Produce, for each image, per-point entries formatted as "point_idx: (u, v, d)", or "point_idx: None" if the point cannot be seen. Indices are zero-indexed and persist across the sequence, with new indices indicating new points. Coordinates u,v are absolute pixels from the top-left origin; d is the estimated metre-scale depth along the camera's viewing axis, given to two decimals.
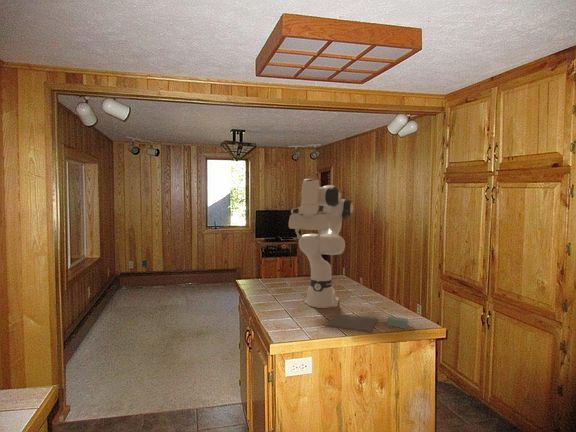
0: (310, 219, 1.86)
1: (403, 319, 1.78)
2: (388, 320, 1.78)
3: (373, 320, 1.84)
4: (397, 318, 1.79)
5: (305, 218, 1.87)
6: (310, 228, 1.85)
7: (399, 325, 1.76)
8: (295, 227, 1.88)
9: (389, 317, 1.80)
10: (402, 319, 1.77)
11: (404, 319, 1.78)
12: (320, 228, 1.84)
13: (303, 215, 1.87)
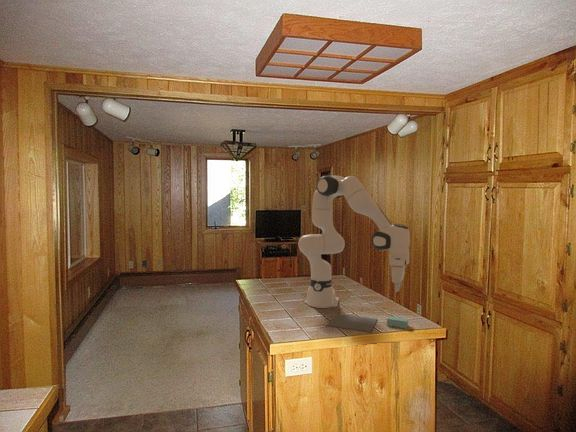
0: None
1: (403, 319, 1.77)
2: (388, 320, 1.78)
3: (373, 320, 1.84)
4: (397, 318, 1.79)
5: None
6: None
7: (399, 325, 1.76)
8: (401, 280, 1.71)
9: (389, 317, 1.80)
10: (402, 319, 1.77)
11: (404, 319, 1.77)
12: None
13: None
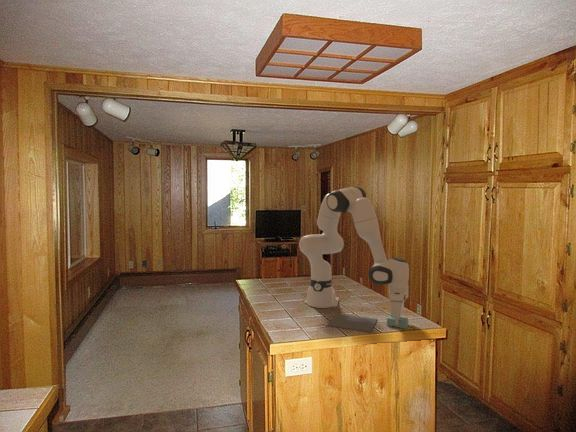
0: None
1: (403, 318, 1.77)
2: (388, 319, 1.78)
3: (373, 320, 1.84)
4: None
5: None
6: None
7: (399, 324, 1.76)
8: (400, 315, 1.72)
9: (389, 316, 1.80)
10: (402, 318, 1.77)
11: (404, 319, 1.77)
12: None
13: None
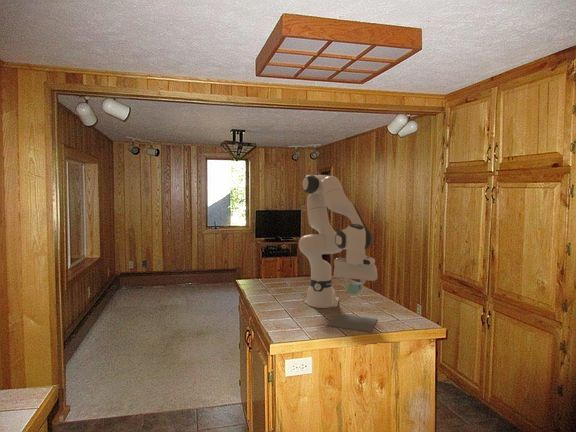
0: None
1: (355, 282, 1.83)
2: (357, 287, 1.76)
3: (373, 320, 1.84)
4: (353, 284, 1.80)
5: None
6: None
7: None
8: None
9: (351, 285, 1.77)
10: (356, 283, 1.82)
11: (355, 282, 1.83)
12: None
13: None
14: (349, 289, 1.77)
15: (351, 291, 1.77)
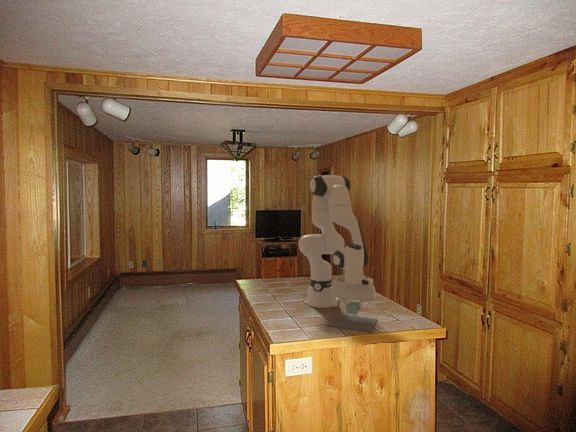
0: None
1: (354, 302, 1.83)
2: (356, 308, 1.76)
3: (373, 320, 1.84)
4: (352, 304, 1.81)
5: None
6: None
7: None
8: None
9: (350, 306, 1.77)
10: (354, 303, 1.82)
11: (354, 302, 1.83)
12: None
13: None
14: (348, 309, 1.77)
15: (350, 311, 1.77)
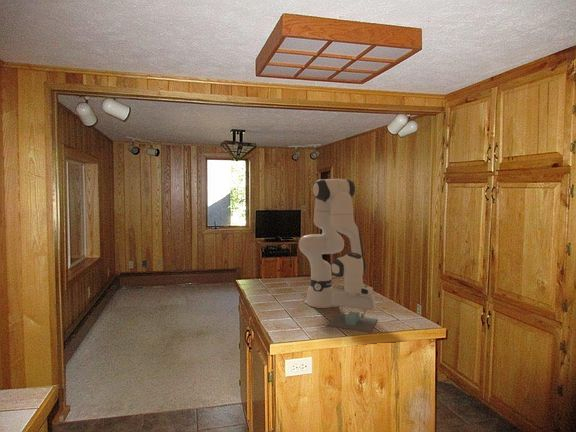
0: None
1: (353, 312, 1.84)
2: (355, 319, 1.77)
3: (373, 320, 1.84)
4: (351, 314, 1.81)
5: None
6: None
7: (357, 319, 1.81)
8: None
9: (350, 316, 1.78)
10: (353, 313, 1.83)
11: (353, 312, 1.84)
12: None
13: None
14: (348, 320, 1.78)
15: (349, 322, 1.77)
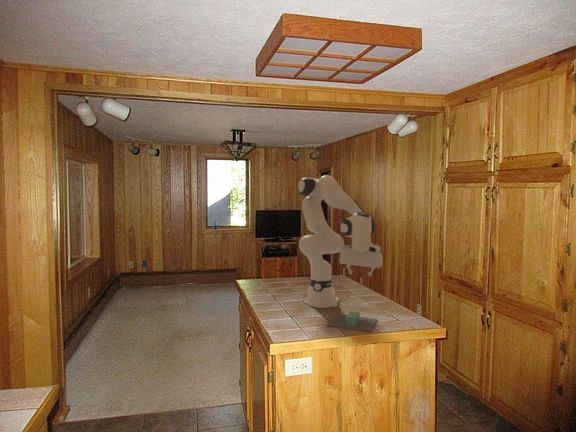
0: None
1: (353, 312, 1.84)
2: (355, 319, 1.77)
3: (373, 320, 1.84)
4: (351, 314, 1.81)
5: None
6: None
7: (357, 319, 1.81)
8: None
9: (350, 316, 1.78)
10: (353, 313, 1.83)
11: (353, 312, 1.84)
12: None
13: None
14: (348, 320, 1.78)
15: (349, 322, 1.77)
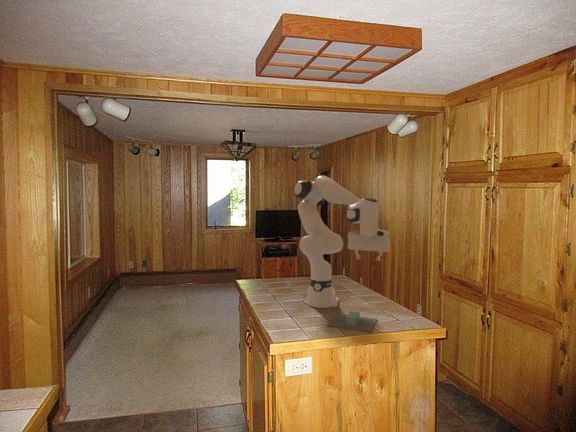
0: None
1: (353, 312, 1.84)
2: (355, 319, 1.77)
3: (373, 320, 1.84)
4: (351, 314, 1.81)
5: None
6: None
7: (357, 319, 1.81)
8: None
9: (350, 316, 1.78)
10: (353, 313, 1.83)
11: (353, 312, 1.84)
12: None
13: None
14: (348, 320, 1.78)
15: (349, 322, 1.77)
